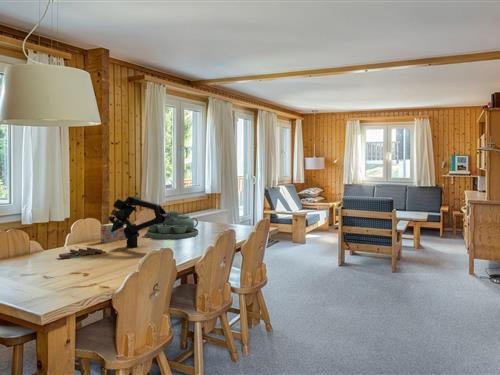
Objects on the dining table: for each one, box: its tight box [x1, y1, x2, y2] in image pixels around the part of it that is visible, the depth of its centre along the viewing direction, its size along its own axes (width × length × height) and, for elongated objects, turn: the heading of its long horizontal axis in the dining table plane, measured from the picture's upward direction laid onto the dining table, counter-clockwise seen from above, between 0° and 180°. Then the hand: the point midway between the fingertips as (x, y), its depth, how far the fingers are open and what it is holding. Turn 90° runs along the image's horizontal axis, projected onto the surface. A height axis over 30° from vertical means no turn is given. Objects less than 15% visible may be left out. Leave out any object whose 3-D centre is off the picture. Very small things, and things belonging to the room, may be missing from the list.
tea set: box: [146, 210, 199, 240], centre depth 337 cm, size 40×40×16 cm
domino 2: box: [69, 248, 87, 256], centre depth 259 cm, size 2×5×8 cm
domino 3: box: [77, 248, 96, 255], centre depth 262 cm, size 2×5×8 cm
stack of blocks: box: [100, 222, 128, 244], centre depth 309 cm, size 21×6×12 cm, turn 150°
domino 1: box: [58, 252, 76, 259], centre depth 254 cm, size 2×5×8 cm
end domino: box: [67, 254, 84, 260], centre depth 257 cm, size 2×5×8 cm
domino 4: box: [86, 247, 103, 254], centre depth 267 cm, size 2×5×8 cm
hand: (111, 231), depth 278 cm, fingers closed
